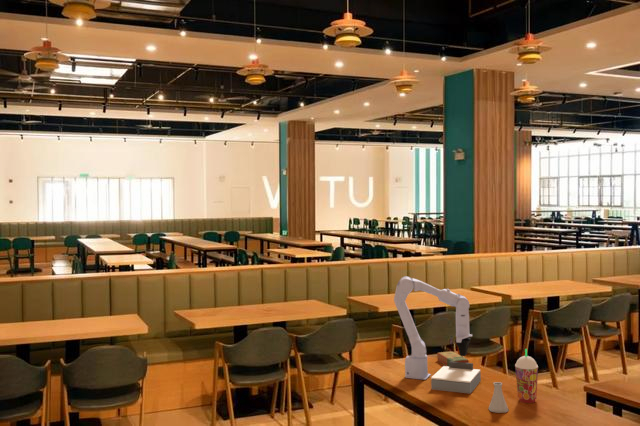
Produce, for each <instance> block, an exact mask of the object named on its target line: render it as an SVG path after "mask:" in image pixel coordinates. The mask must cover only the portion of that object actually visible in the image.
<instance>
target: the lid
mask: <svg viewBox="0 0 640 426" xmlns="http://www.w3.org/2000/svg"><path fill="white" fill-rule="evenodd" d="M479 372H481V369H478V368H477V369H476V368H474V363H473V362H472V363H471V362H469V363H464V362H453V361H450V362H449V367H448V366H446V365H443V366H442V367H441V368H440V369H438V371H437V372H435V373H434V374H433V375H432V376H430V377H431V378H430V379H436V380H446V381H456V382H465V383H471V381H472V380H473V379H474V378H475V377H476V376H477V374H478V373H479Z"/></svg>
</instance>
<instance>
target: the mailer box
mask: <svg viewBox="0 0 640 426" xmlns="http://www.w3.org/2000/svg"><path fill="white" fill-rule="evenodd" d="M481 374H482V373H481V371H480V372H479V373H478V374H477V376H476V377H475V378H474V379H473V380H472V381H471V383H465V382H456V381H446V380H436V379H431V378H430V379H431V380H430V381H431V382H430V385H431V386H430V387H431V390H434V391H442V392H444V391H445V392H452V393H461V394H463V393H464V394H468V395H469V394H470V395H471V394H472V392H473V391H474V390H475V389H476V388H477V386H478V385H479V384H480V383H481V382H482V378H481ZM479 382H480V383H479Z"/></svg>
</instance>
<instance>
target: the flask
mask: <svg viewBox="0 0 640 426" xmlns="http://www.w3.org/2000/svg"><path fill="white" fill-rule="evenodd" d="M492 384H493V386H494V387H493V394H492V397H491V401H490V403H489V406H488V410H489V411H490V413H491V412H492V413H498V414H500V413H501V414H502V413H503V414H506V413H507V412H509V407H508V404H507V401H506V400H505V397H504V393H503V389H502V386H503V382H500V381H499V382H493V383H492Z"/></svg>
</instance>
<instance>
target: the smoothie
mask: <svg viewBox="0 0 640 426" xmlns="http://www.w3.org/2000/svg"><path fill="white" fill-rule="evenodd" d="M524 352H525V353H524V355H523V356H520V357H519V358H517V360H516V363H515V364H514V367H515V368H514V369H515V378H516V389H517V398H518V400H519V401H520V402H521V403H523V402H524V404H533V403H535V402H536V399H537V396H538V373H539V371H538V369H539V366H538V364H537V361H536V360H535V359H534V358H533V357H532V356H529V355H528V349H527V348H525V349H524Z"/></svg>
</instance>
